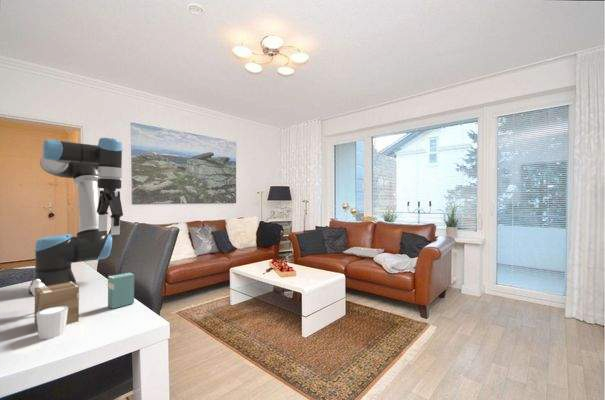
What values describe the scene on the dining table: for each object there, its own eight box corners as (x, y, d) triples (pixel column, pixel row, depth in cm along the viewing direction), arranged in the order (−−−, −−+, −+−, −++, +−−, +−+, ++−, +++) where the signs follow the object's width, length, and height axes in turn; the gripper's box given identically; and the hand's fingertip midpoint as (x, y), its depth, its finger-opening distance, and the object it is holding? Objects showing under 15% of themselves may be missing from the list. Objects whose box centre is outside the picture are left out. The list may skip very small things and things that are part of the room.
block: (107, 305, 99) (107, 276, 99) (129, 300, 105) (129, 272, 105) (112, 308, 96) (112, 278, 96) (134, 303, 102) (134, 274, 102)
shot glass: (49, 329, 82) (50, 305, 82) (74, 328, 82) (74, 305, 82) (28, 340, 75) (29, 315, 75) (55, 339, 75) (55, 314, 75)
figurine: (46, 315, 91) (47, 279, 91) (29, 319, 88) (29, 282, 88) (46, 309, 96) (46, 275, 96) (29, 312, 93) (29, 277, 94)
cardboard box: (34, 322, 86) (34, 287, 86) (71, 313, 93) (71, 281, 93) (40, 331, 80) (40, 293, 80) (78, 320, 87) (79, 286, 87)
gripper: (87, 178, 111) (87, 230, 111) (110, 177, 95) (109, 237, 96) (109, 179, 116) (108, 228, 117) (133, 178, 101) (132, 235, 102)
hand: (108, 232), depth 106 cm, fingers open, 13 cm apart
